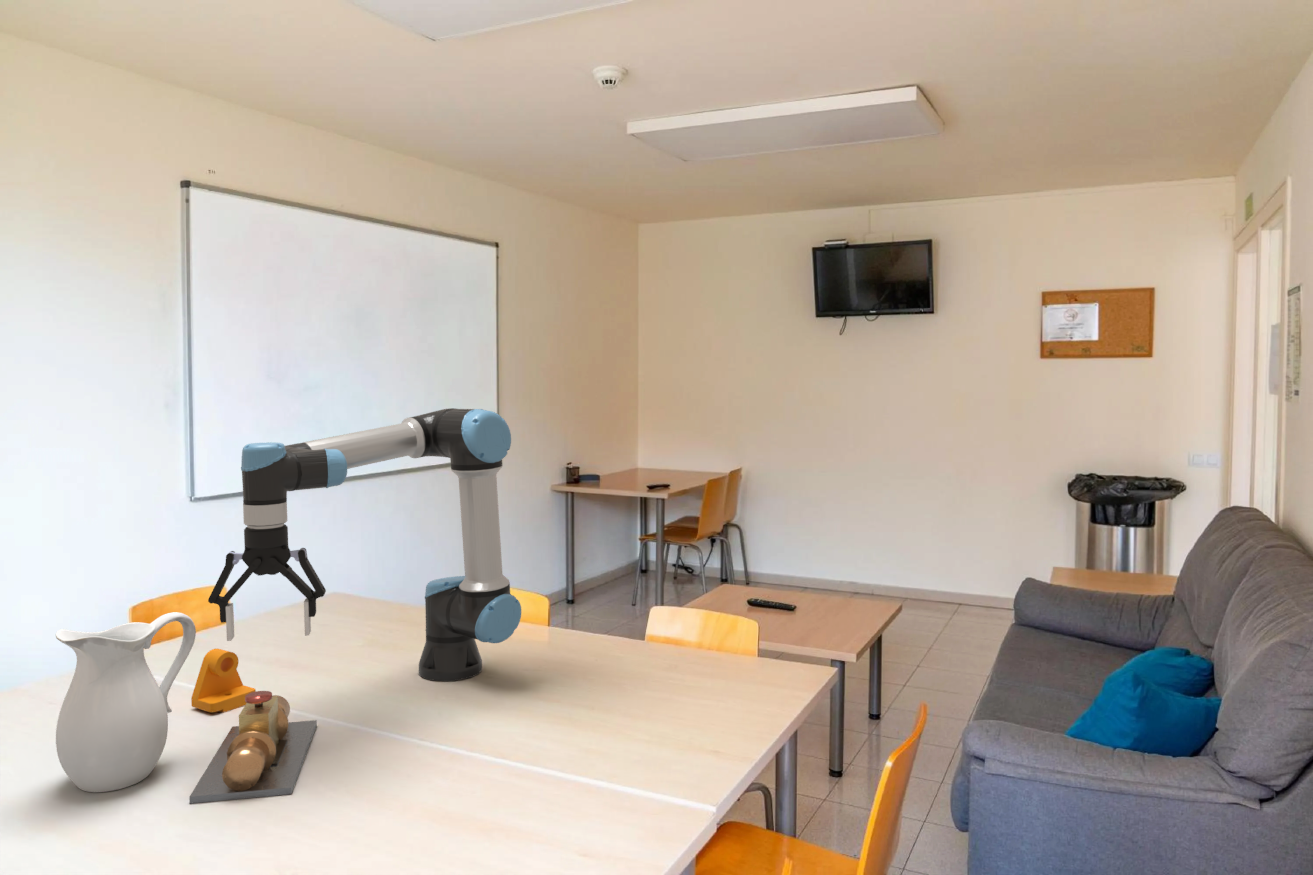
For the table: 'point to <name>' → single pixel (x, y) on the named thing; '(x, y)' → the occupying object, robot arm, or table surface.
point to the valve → (260, 714)
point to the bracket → (219, 683)
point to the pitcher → (116, 705)
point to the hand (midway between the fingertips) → (269, 636)
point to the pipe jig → (256, 762)
